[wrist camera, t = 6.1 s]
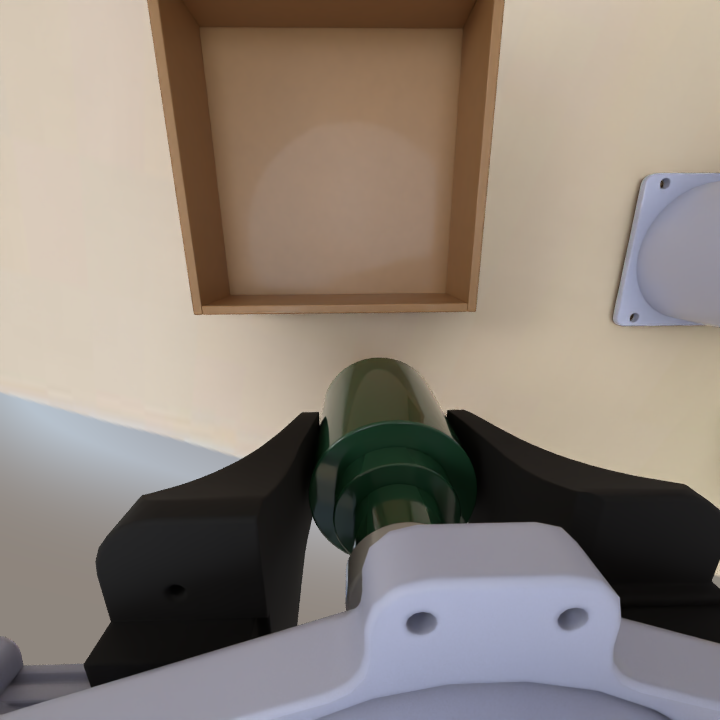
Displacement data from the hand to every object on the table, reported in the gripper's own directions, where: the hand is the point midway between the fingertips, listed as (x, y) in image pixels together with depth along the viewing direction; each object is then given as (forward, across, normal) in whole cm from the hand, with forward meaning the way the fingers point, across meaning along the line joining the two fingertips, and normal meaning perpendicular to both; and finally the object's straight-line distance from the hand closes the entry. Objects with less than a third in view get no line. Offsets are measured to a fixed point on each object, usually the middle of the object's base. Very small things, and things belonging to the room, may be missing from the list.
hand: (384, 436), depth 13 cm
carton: (+9, +2, -10) cm, 14 cm away
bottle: (+2, 0, 0) cm, 2 cm away
